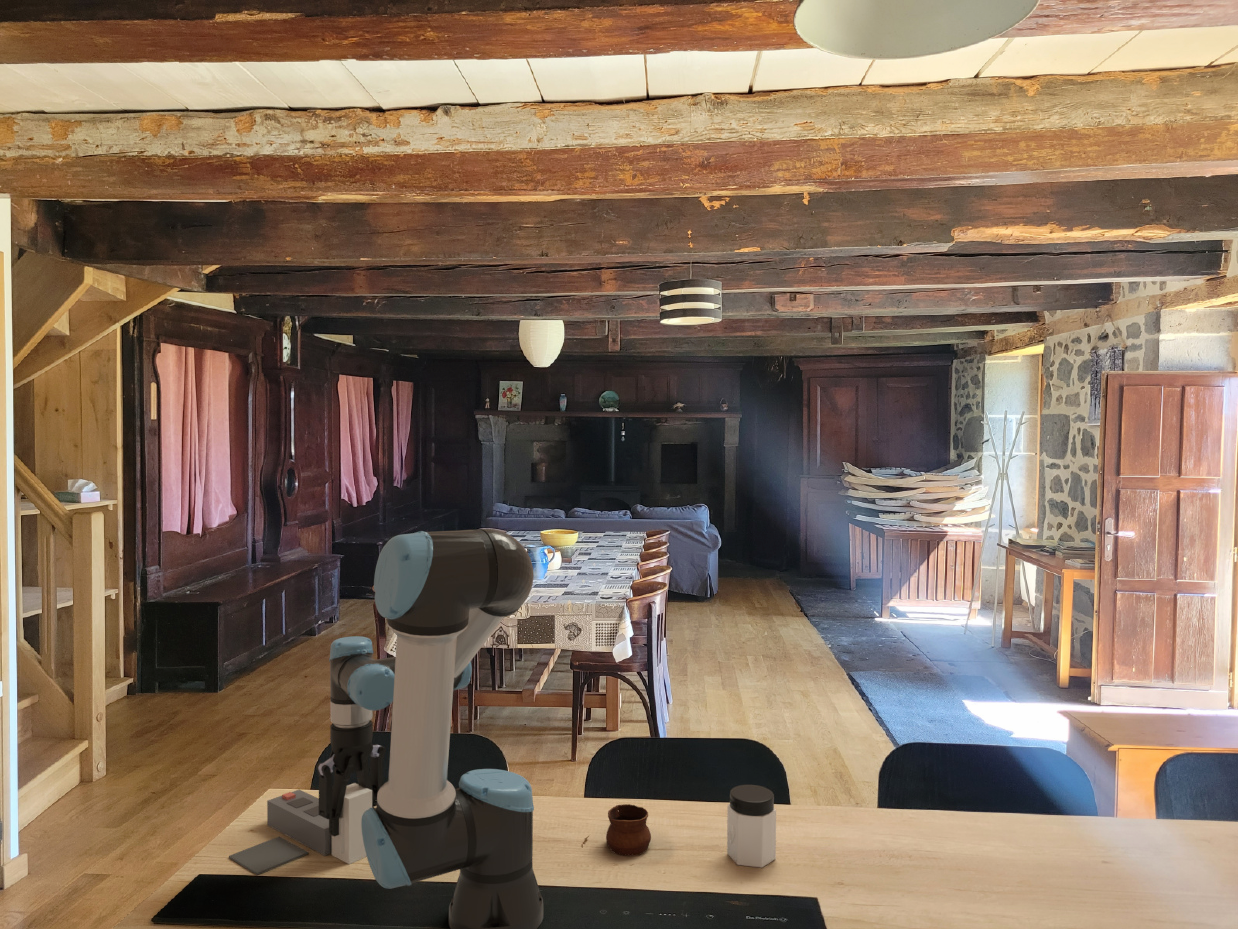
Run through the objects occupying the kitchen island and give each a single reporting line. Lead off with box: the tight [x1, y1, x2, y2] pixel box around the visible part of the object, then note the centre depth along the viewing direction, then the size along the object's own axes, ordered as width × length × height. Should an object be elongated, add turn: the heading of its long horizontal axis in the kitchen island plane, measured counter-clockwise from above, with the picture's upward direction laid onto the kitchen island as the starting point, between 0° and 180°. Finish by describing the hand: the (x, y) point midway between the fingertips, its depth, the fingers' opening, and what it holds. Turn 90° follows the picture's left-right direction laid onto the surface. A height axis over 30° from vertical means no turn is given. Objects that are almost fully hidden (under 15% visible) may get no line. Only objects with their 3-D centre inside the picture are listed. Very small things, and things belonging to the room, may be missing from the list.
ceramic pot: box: [580, 803, 652, 857], centre depth 163 cm, size 18×18×7 cm
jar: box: [726, 784, 777, 869], centre depth 159 cm, size 9×8×12 cm
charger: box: [331, 782, 372, 865], centre depth 160 cm, size 8×5×12 cm, turn 52°
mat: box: [228, 835, 309, 876], centre depth 158 cm, size 10×10×1 cm
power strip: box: [266, 789, 332, 857], centre depth 167 cm, size 20×7×6 cm, turn 52°
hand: (352, 845), depth 159 cm, fingers closed on charger, 5 cm apart
